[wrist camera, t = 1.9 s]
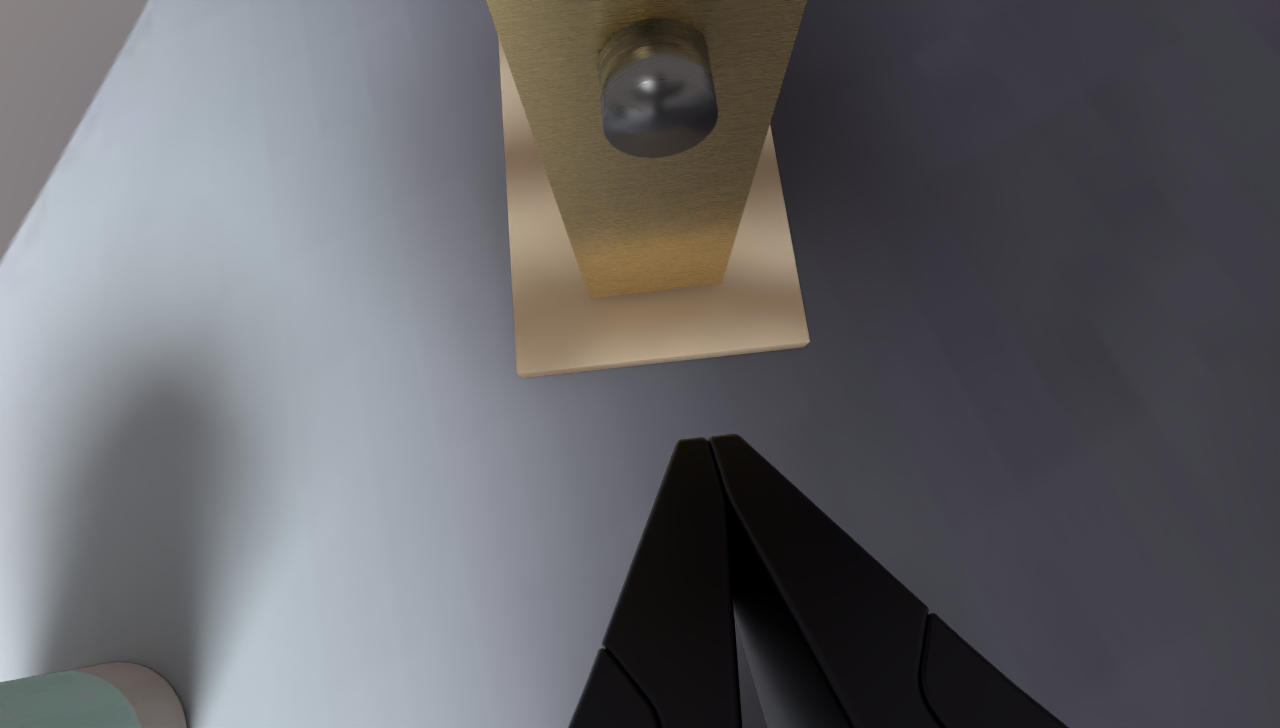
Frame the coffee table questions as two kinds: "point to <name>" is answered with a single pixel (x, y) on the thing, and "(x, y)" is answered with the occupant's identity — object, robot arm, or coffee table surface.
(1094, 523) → the coffee table surface
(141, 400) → the coffee table surface
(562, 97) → the latch bar
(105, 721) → the coffee cup
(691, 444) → the robot arm
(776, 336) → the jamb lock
